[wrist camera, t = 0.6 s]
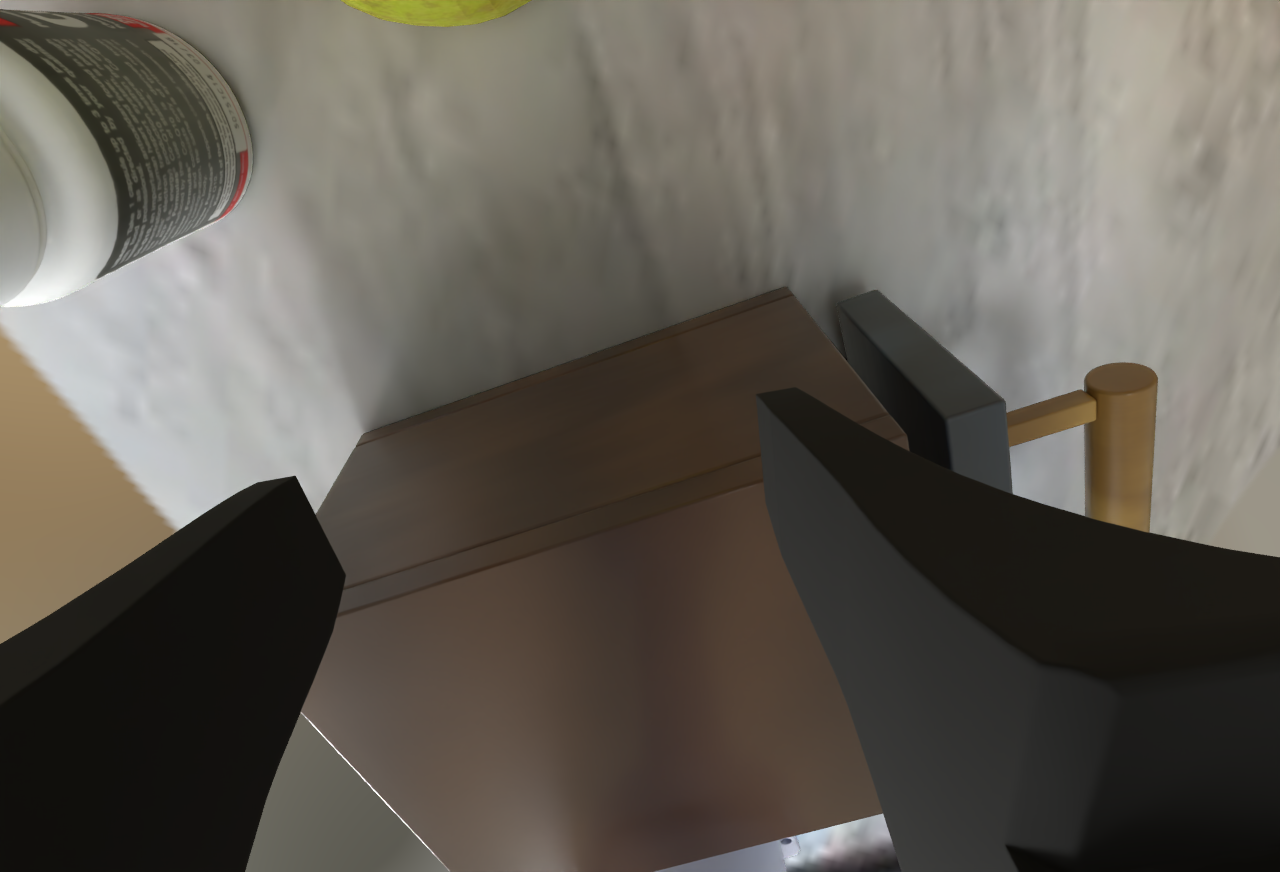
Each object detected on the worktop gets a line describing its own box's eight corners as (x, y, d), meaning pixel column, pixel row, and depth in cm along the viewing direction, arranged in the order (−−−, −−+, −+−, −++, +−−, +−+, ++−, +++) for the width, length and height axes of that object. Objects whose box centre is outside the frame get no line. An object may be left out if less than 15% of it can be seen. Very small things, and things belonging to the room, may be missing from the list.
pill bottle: (154, -28, 15) (-251, -92, 8) (299, 175, 17) (89, 273, 10) (-5, 79, 16) (-504, 111, 9) (153, 259, 18) (-138, 405, 11)
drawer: (1041, 231, 18) (1255, 320, 12) (1052, 520, 23) (1207, 680, 18) (462, 429, 20) (411, 589, 14) (590, 657, 25) (590, 843, 19)
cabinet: (787, 284, 20) (908, 433, 12) (856, 571, 25) (966, 793, 18) (361, 433, 21) (236, 647, 14) (516, 672, 27) (489, 915, 19)
